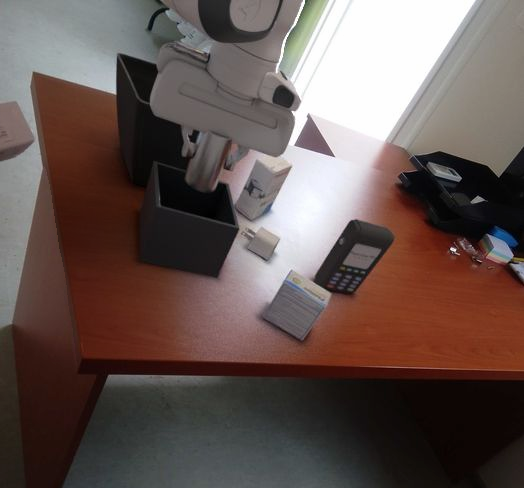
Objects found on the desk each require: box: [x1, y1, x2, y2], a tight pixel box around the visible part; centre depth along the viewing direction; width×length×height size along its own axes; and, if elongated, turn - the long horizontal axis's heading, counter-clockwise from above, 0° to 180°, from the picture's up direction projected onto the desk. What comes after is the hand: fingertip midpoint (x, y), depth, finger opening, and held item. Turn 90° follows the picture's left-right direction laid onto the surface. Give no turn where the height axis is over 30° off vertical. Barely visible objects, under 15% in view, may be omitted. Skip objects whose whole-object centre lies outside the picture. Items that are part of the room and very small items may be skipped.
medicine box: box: [262, 269, 332, 342], centre depth 75 cm, size 8×4×9 cm, turn 71°
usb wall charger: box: [240, 226, 281, 261], centre depth 89 cm, size 4×7×4 cm, turn 71°
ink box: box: [234, 155, 293, 221], centre depth 95 cm, size 9×5×12 cm, turn 150°
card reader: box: [314, 218, 395, 295], centre depth 87 cm, size 9×4×15 cm, turn 106°
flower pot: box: [115, 52, 199, 187], centre depth 87 cm, size 19×19×17 cm
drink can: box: [184, 130, 234, 193], centre depth 69 cm, size 5×5×9 cm
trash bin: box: [139, 161, 241, 278], centre depth 77 cm, size 13×13×10 cm
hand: (207, 162), depth 69 cm, fingers closed on drink can, 5 cm apart
